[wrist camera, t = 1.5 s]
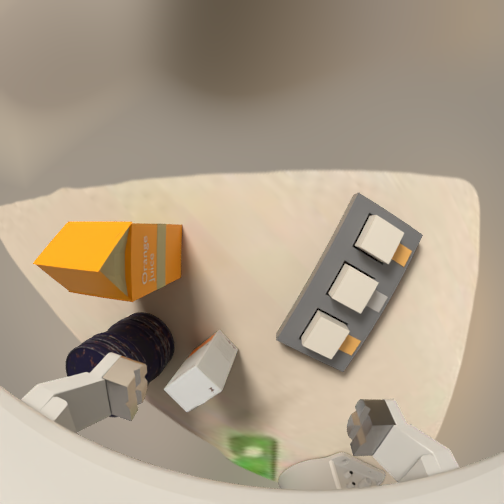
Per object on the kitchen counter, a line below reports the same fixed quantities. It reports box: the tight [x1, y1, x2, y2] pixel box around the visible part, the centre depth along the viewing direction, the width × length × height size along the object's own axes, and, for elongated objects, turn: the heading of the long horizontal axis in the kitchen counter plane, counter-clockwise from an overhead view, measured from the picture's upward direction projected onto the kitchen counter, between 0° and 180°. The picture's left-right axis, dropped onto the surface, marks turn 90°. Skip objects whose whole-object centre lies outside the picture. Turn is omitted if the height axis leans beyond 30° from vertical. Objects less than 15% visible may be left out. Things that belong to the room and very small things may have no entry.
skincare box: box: [164, 330, 238, 412], centre depth 34 cm, size 6×4×12 cm
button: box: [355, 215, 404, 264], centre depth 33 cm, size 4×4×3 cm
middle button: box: [328, 264, 378, 314], centre depth 34 cm, size 4×4×3 cm
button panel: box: [276, 193, 422, 372], centre depth 36 cm, size 11×22×3 cm, turn 152°
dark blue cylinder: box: [66, 312, 174, 417], centre depth 34 cm, size 10×10×15 cm
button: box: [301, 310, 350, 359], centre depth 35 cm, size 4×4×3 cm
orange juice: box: [33, 221, 182, 302], centre depth 30 cm, size 8×9×20 cm
